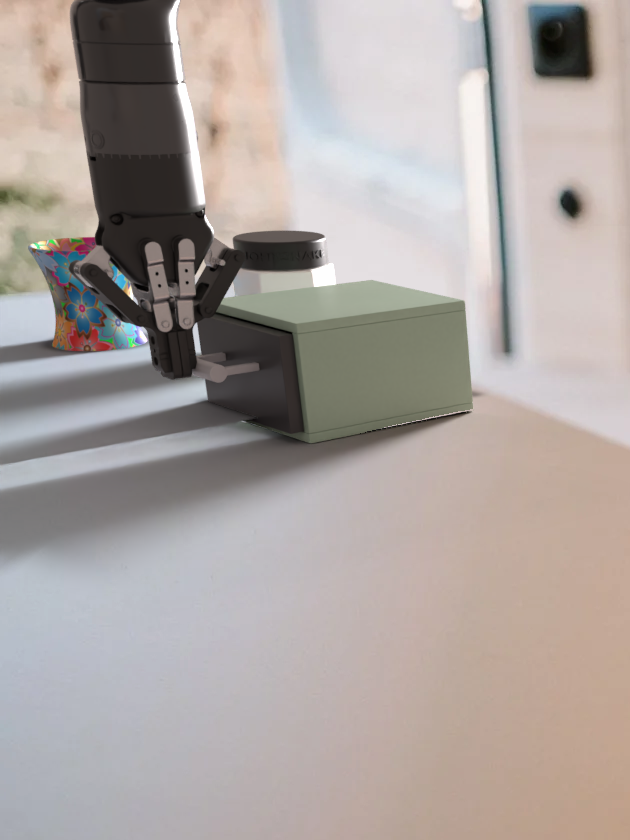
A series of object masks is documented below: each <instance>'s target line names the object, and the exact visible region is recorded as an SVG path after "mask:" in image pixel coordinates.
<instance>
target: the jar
mask: <svg viewBox="0 0 630 840" xmlns="http://www.w3.org/2000/svg"><path fill="white" fill-rule="evenodd" d="M232 246H233V249H237V250H240V251H242V252H243V253H244V255H245V261H244V263H243V264H242V266H241V268H240V270H239V272H238V273H237V275H236V277H235V279H234V280H233V282H232V287H233V293H234V297H235V296H243V295H251V294H259V293H268V292H276V291H284V290H293V289H301V288H309V287H317V286H326V285H334V284H337V282H336V275H335V274H336V273H335V266H334V265H335V264H334V263H333V262H329V255H328V254H329V253H328V245H327V238H326V236H325V235H324V234H323V233H320V232H315V231H305V230H263V231H251V232H244V233H239V234H236V235H234V236H233V237H232Z"/></svg>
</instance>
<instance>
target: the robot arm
mask: <svg viewBox="0 0 630 840" xmlns="http://www.w3.org/2000/svg"><path fill="white" fill-rule="evenodd" d="M180 5H181V0H73V1H72V2H71V4H70V8H69V25H70V32H71V40H72V47H73V53H74V59H75V65H76V71H77V79H78V80H79V81H78V85H79V112H80V114H79V115H80V121H81V128H82V133H83V140H84V146H85V153H86V159H87V164H88V172H89V177H90V183H91V190H92V197H93V203H94V208H95V211H96V214H97V218H98V223H97V227H96V231H95V233H94V237H95V243H96V245H97V246H96V247H95V248H94V249H93V250H92V251H91V252H90V253H89V254H88V255H87V256H86V257H85V258H84V259H83V260H82V261H79V260H75V261H73V262H71V263H70V265H69V270H70V272H71V274H72V275H73V276H74V277H75V278H76V279H77V280H78V281H80V282H81V283H82V284H83V285H84V286H85V287H86V288H87V289H88V290H89V291H90V292H91V293H92V294H93V295H94V296H95V297H96V298H97V299H98V300H99V301H100V302H101V303H103V304H104V305H105V306H106V307H107V308H108V309H109V310H110V311H111V312H112V313H113V314H114V315H115V316H116V317H117V318H118V319H119V320H120V321H122V322H125V323H130V324H133V325H135V326H138V327H140V328H144V330H145V331H146V333H147V340H148V345H149V351H150V359H151V365H152V367H153V368H154V369H155V371H157V372H160V374H161V376H162V378H166V379H168V380H172V381H173V380H174V381H175V380H179V379H186V378H191V377H192V376H193V375H192V369H195V368H196V364H197V358H196V356H197V355H196V354H197V353H196V345H195V338H194V327H195V325H197V322H198V321H200V320H202V319H204V318H211V317H213V316H214V314H215V313H216V311H217V309H218V307H219V305H220V304H221V302H222V300H223V298H226V297H225V296H226V295H227V294H228V291H229V289H230V287H231V286H232V285H233V280H234V279H235V277H236V275H237V273H238V272H239V270H240V268H241V266H242V264H243V263H244V261H245V255H244V253H243V252H242V251H240V250H237V249H234V248H231V247H229V246H228V245H226V244H225V243H223V242H222V241H220V240H219V239H217V238H215V230H214V228H213V226H212V225H211V223H210V222H209V219H207V218H208V217H207V216H206V205H207V201H206V195H205V186H204V179H203V172H202V171H203V170H202V165H201V157H200V151H199V135H198V134H199V133H198V131H197V127H196V122H195V115H194V110H193V107H192V103H191V100H190V96H189V93H188V92H189V91H188V87H187V82H186V75H185V66H184V59H183V58H184V57H183V51H182V44H181V39H180V34H179V28H178V27H179V26H178V19H179V13H180V12H179V11H180ZM109 261H111V262H112V264H113V265H114V266H115V267H116V268H117V269H118V270H119V271H120V272H121V273H122V274H123V275H124V276H125V277H126V278H127V279H128V280H129V281H130V285H131V289H132V295H133V298H134V299H136V301H134V299H133V300H132V299H131V298H130V297H129V296H128V295H127V294H126V293H125V292H124V291H123V290H122V289H121V288H120V287H119V286H118V285H117V284H116V283H115V282H114V281H113V280H112V278H113V276H114V271H113V269H112V268H111V266H110V263H109ZM203 263H204V265H205V267H204V268H203V270H202V272H201V274H200V276H199V277H198V279H197V281H196V275H197V273H198V271H199V270H200V267H201V265H202V264H203Z"/></svg>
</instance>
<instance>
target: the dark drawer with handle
mask: <svg viewBox="0 0 630 840" xmlns="http://www.w3.org/2000/svg"><path fill="white" fill-rule="evenodd" d="M196 326H197V333H198V338H199V340H198V341H199V347H200V354H201V355H196V358H197V364H196V368H195V369H192V376H194V377H198V378H199V379H204V383H205V390H206V391H205V392H206V397H207V402H209V403H212V404H215V405H218V406H220V407H223V408H227V409H230V410H233V411H236V412H239V413H242V414H245V415H248V416H251V417H253V418H248V419H247V420H250V421H253V422H256V423H259V424H262V425H265V426H268V427H271V428H274V429H277V430H280V431H283V432H286V433H289V434H294V433H299V432H304V426H303V417H302V409H301V400H300V392H299V383H298V375H297V367H296V358H295V350H294V341H293V334H292V333H293V332H289V331H285V330H282V329H278V328H274V327H270V326H267V325H263V324H259V323H255V322H252V321H248V320H244V319H240V318H237V317H233V316H230V318H229V317H225V316H222V315H218V314H214V316H213V317H211V318H204V319H202V320H200V321H198V322H197V323H196Z"/></svg>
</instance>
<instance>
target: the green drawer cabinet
mask: <svg viewBox="0 0 630 840" xmlns="http://www.w3.org/2000/svg"><path fill="white" fill-rule="evenodd" d="M215 314H218V315H222V316H225V317H229V318H230V316H233V317H237V318H240V319H244V320H248V321H252V322H255V323H259V324H263V325H267V326H270V327H274V328H278V329H282V330H285V331H289V332H293V333H292V334H293V341H294V350H295V358H296V367H297V375H298V383H299V392H300V400H301V409H302V417H303V426H304V432H299V433H294V434H289V433H286V432H283V431H280V430H277V429H274V428H271V427H268V426H265V425H262V424H259V423H256V422H253V421H250V420H248V419H244V420H241V422H245V423H247V424H251V425H254V426H256V427H259V428H262V429H265V430H269V431H272V432H275V433H278V434H280V435H284V436H286V437H290V438H293V439H296V440H298V441H301V442H304V443H308V444H316V443H321V442H326V441H330V440H335V439H341V438H345V437H350V436H356V435H360V433H361V434H365V432H366V433H368V432H367V431H371V432H373V431H372V430H376V429H381V428H384V427H388V426H392V425H396V424H397V425H398V424H402V423H406V422H412V421H416V420H422V419H425V418H429V417H433V416H434V417H435V416H439V415H444V414H449V413H453V412H458V411H465V410H470V409H473V410H474V402H473V401H474V398H473V387H472V386H473V385H472V372H471V360H470V348H469V346H470V345H469V335H468V324H467V323H468V321H467V310H466V301H465V300H464V299H459V298H455V297H450V296H446V295H441V294H437V293H432V292H428V291H424V290H419V289H414V288H410V287H405V286H401V285H396V284H391V283H388V282H382V281H379V280H374V279H368V280H359V281H353V282H342V283H336V284H334V285H326V286H317V287H309V288H301V289H293V290H284V291H276V292H268V293H259V294H251V295H243V296H235V295H234V296H227V297H224V298H223V300H222V302H221V304H220V305H219V307H218V309H217V311H216V313H215ZM381 430H382V429H381ZM376 431H377V430H376Z"/></svg>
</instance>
